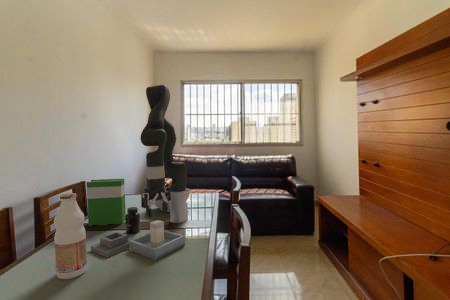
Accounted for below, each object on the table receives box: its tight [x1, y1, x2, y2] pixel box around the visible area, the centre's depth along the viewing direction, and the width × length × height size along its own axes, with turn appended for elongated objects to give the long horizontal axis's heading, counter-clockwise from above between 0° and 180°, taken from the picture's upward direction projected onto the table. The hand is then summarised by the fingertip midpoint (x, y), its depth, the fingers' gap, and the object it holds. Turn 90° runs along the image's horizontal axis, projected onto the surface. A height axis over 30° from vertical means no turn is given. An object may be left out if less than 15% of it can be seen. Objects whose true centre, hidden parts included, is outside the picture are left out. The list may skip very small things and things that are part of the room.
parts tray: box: [128, 229, 186, 261], centre depth 109 cm, size 16×16×4 cm
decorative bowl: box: [150, 187, 191, 213], centre depth 166 cm, size 27×27×12 cm
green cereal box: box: [85, 178, 127, 227], centre depth 141 cm, size 18×7×24 cm, turn 98°
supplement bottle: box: [125, 206, 141, 235], centre depth 128 cm, size 7×7×12 cm
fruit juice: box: [53, 192, 88, 280], centre depth 89 cm, size 9×9×28 cm
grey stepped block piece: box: [90, 231, 133, 258], centre depth 109 cm, size 14×12×5 cm
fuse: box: [149, 219, 165, 248], centre depth 109 cm, size 4×4×10 cm
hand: (157, 214), depth 108 cm, fingers open, 8 cm apart
